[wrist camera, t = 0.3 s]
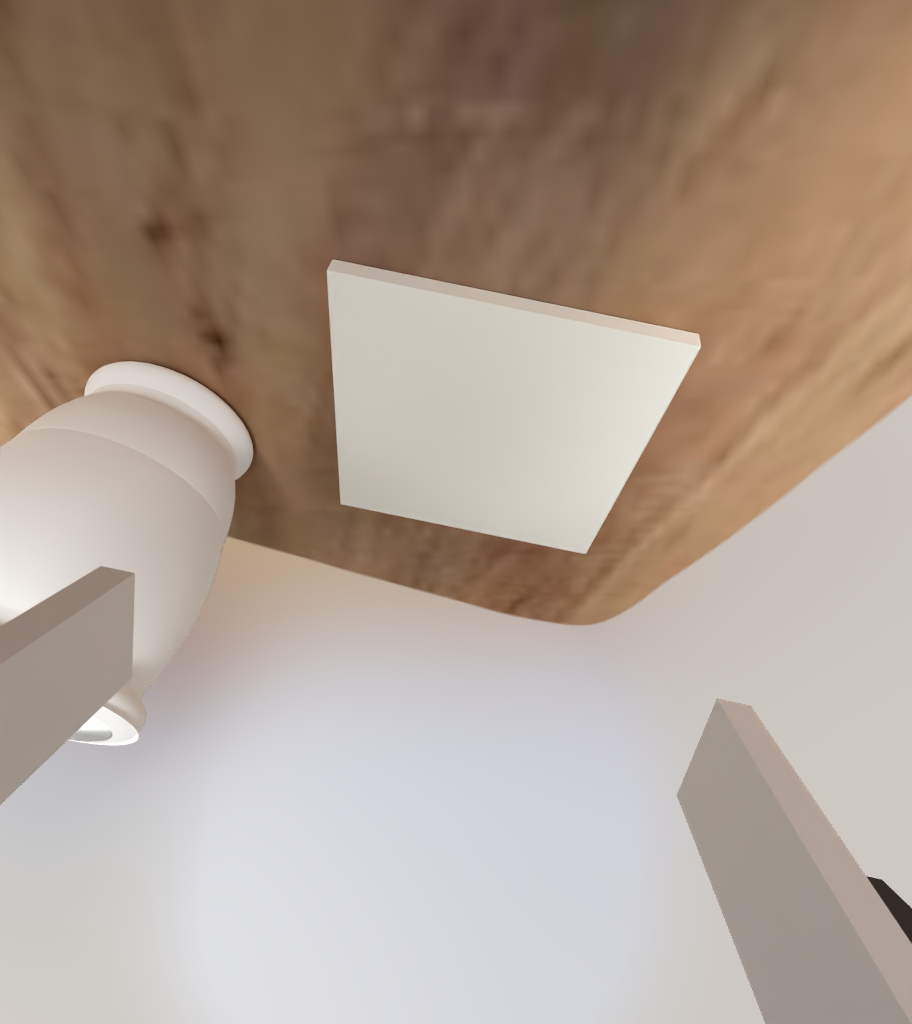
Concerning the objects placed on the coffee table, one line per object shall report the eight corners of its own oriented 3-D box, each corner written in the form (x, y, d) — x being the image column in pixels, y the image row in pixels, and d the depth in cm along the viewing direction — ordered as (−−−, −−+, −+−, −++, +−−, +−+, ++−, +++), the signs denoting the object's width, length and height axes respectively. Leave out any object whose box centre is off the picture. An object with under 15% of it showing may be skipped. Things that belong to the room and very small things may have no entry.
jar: (271, 375, 26) (93, 686, 17) (278, 506, 35) (160, 765, 25) (37, 311, 26) (-279, 601, 16) (101, 460, 34) (-87, 711, 25)
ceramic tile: (333, 259, 21) (326, 270, 21) (698, 333, 21) (701, 346, 21) (344, 493, 32) (340, 504, 32) (585, 542, 32) (585, 554, 32)
